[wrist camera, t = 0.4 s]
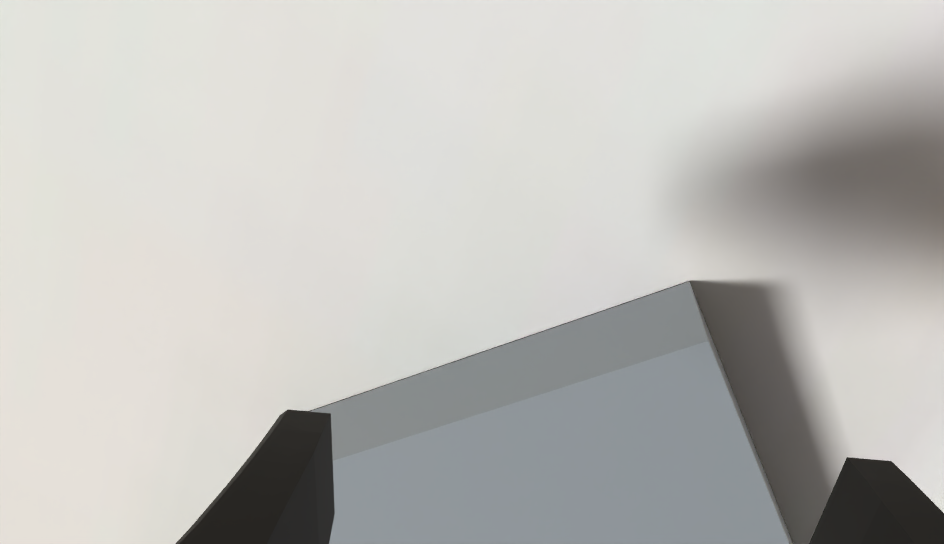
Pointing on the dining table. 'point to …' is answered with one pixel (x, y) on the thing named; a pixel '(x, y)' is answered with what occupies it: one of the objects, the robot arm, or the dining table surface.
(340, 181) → the dining table surface
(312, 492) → the robot arm
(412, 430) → the slate plinth
